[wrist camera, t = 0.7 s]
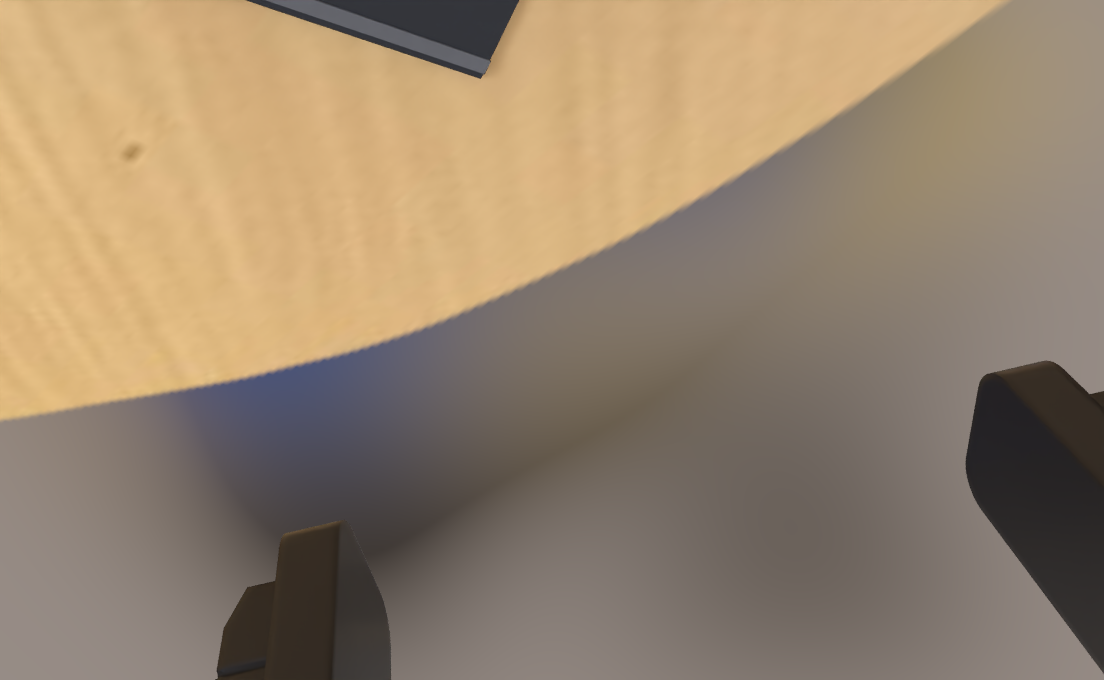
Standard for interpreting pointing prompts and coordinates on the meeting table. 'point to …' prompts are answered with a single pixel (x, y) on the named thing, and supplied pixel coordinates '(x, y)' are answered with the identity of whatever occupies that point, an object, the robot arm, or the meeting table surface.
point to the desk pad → (415, 26)
